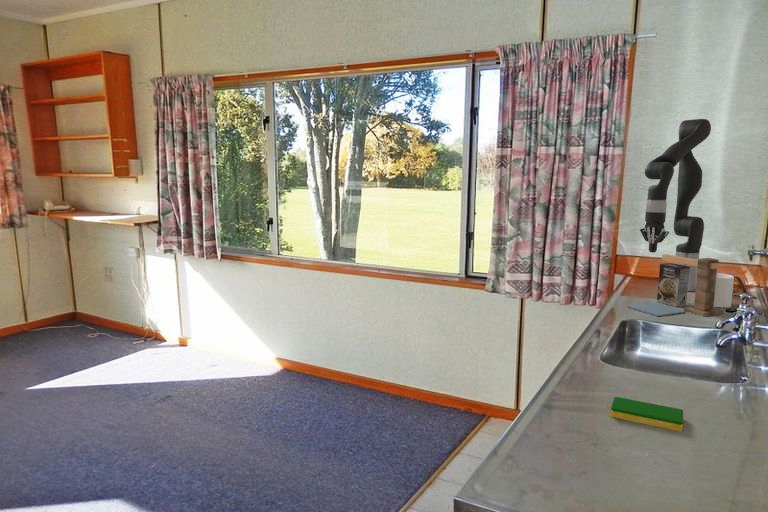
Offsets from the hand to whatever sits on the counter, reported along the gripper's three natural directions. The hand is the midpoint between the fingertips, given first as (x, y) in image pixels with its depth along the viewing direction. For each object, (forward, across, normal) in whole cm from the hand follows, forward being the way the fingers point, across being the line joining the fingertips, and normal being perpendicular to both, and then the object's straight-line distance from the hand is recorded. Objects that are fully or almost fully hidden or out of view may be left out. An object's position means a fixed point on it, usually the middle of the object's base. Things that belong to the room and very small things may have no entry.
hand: (652, 252), depth 217 cm
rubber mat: (+20, -16, +14) cm, 29 cm away
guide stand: (+20, -25, 0) cm, 32 cm away
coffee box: (+20, -11, 0) cm, 23 cm away
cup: (+20, -18, -15) cm, 31 cm away
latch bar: (+2, -17, 0) cm, 17 cm away
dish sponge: (+21, -81, +90) cm, 123 cm away
